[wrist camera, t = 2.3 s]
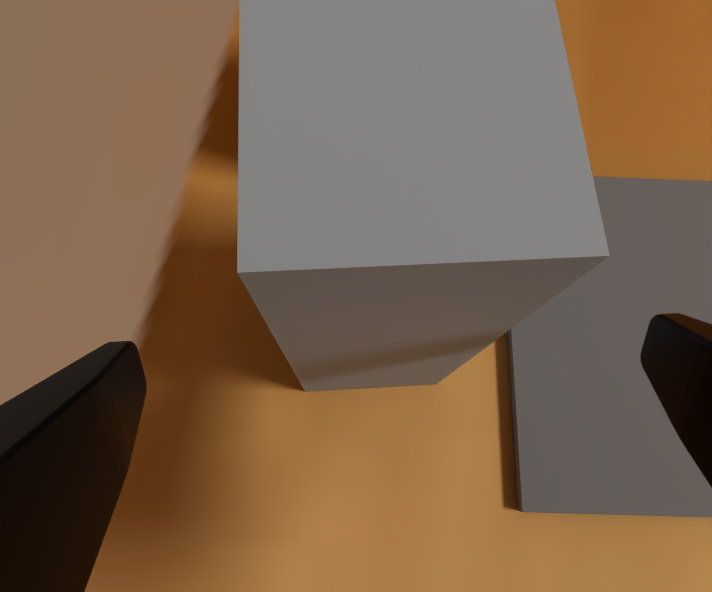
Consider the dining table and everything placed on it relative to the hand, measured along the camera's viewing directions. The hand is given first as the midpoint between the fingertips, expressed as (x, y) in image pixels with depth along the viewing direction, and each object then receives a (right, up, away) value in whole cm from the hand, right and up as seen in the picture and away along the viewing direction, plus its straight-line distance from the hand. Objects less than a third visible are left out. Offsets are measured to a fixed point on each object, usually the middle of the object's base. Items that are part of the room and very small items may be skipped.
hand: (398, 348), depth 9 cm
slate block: (0, 0, +9) cm, 9 cm away
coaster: (+10, 0, +9) cm, 14 cm away
